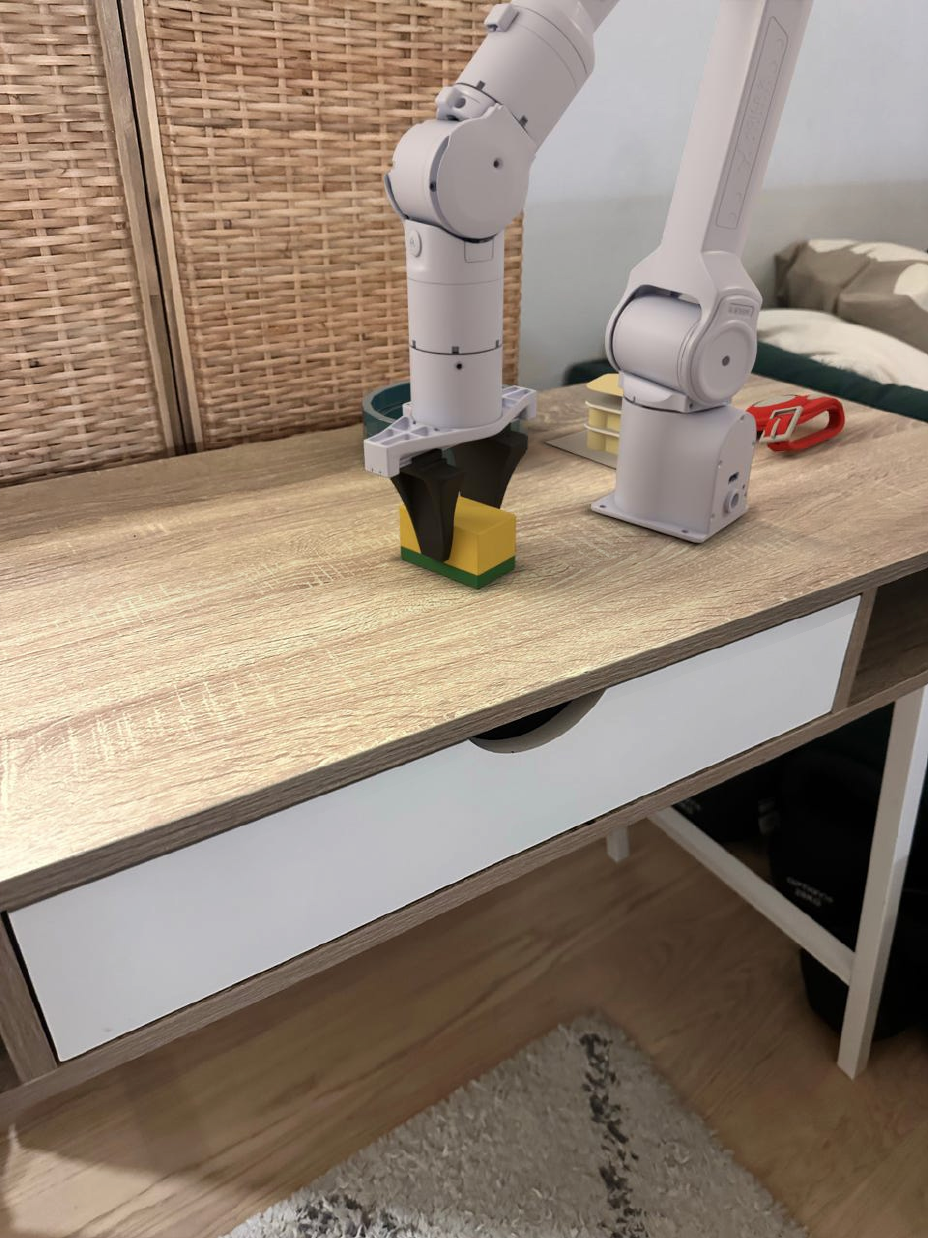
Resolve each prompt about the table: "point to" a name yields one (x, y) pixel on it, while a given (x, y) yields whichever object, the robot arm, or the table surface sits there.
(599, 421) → the stacked layers on plate
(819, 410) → the red buckle strap
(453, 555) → the sponge
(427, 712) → the table surface
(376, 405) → the bowl
